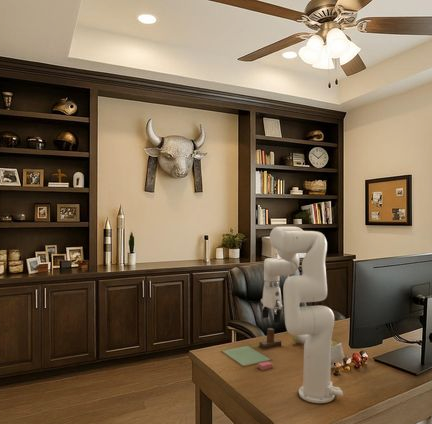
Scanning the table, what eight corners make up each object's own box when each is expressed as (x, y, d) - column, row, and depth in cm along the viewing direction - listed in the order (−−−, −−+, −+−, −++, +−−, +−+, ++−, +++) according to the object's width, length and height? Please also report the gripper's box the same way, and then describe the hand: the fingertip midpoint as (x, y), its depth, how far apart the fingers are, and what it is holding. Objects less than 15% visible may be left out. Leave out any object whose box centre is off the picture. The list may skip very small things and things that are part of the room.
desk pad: (271, 360, 170) (271, 359, 170) (243, 366, 162) (243, 365, 162) (247, 346, 187) (247, 345, 187) (221, 351, 179) (221, 350, 179)
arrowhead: (331, 370, 160) (331, 346, 160) (327, 368, 162) (327, 344, 162) (346, 366, 164) (346, 343, 164) (342, 364, 166) (342, 341, 166)
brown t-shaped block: (259, 347, 186) (259, 329, 186) (276, 343, 191) (276, 326, 191) (263, 349, 183) (264, 331, 183) (281, 346, 188) (281, 328, 188)
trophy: (291, 327, 192) (330, 345, 165) (303, 325, 195) (343, 343, 169) (290, 344, 192) (330, 365, 165) (303, 342, 195) (343, 362, 169)
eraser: (258, 368, 161) (258, 363, 161) (268, 365, 163) (268, 361, 163) (262, 370, 158) (262, 365, 158) (272, 368, 161) (272, 363, 161)
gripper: (288, 286, 181) (288, 323, 181) (268, 281, 196) (267, 315, 196) (275, 287, 178) (275, 325, 177) (255, 282, 192) (255, 316, 192)
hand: (271, 319), depth 187 cm, fingers open, 9 cm apart
